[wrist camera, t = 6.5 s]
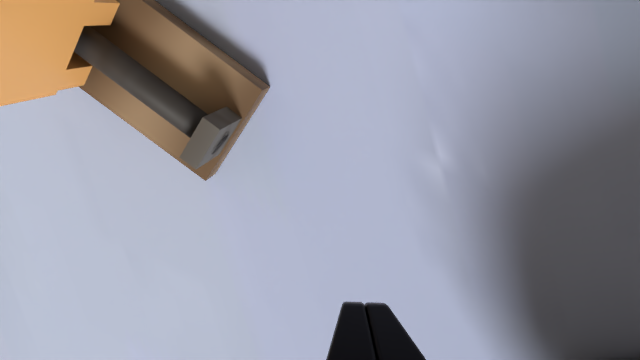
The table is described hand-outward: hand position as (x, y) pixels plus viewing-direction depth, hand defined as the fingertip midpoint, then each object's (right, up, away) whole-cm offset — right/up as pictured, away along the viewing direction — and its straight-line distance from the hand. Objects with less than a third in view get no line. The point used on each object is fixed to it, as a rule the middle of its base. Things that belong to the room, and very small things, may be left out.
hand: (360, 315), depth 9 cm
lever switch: (-9, +8, +12) cm, 17 cm away
